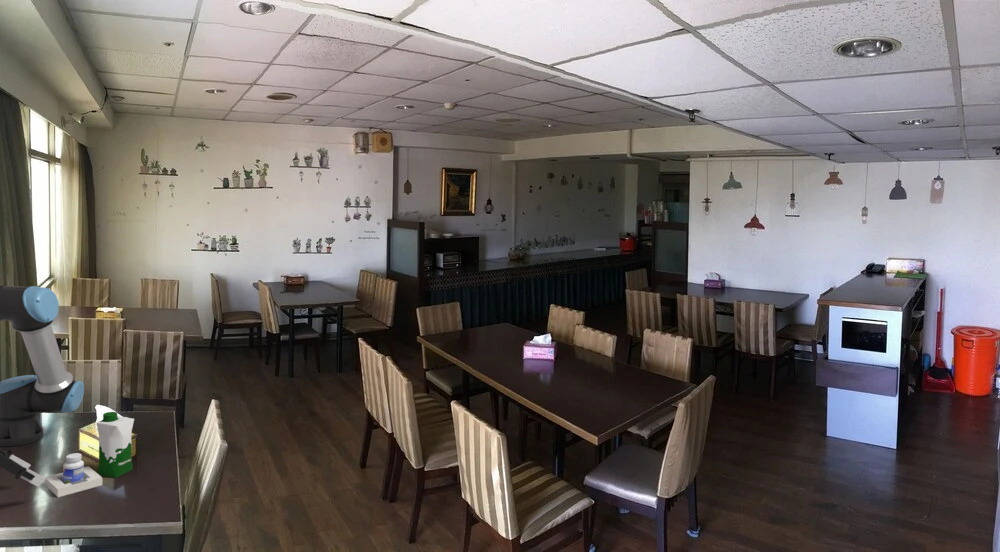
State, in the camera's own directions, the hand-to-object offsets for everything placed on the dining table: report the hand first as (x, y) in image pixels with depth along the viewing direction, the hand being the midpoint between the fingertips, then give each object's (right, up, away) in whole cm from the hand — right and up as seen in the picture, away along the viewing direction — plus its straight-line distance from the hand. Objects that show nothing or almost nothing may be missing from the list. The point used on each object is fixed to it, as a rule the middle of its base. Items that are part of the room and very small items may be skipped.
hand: (34, 475), depth 184 cm
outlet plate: (+6, -6, +9) cm, 12 cm away
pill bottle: (+6, -6, +9) cm, 12 cm away
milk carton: (+12, -6, +19) cm, 24 cm away
